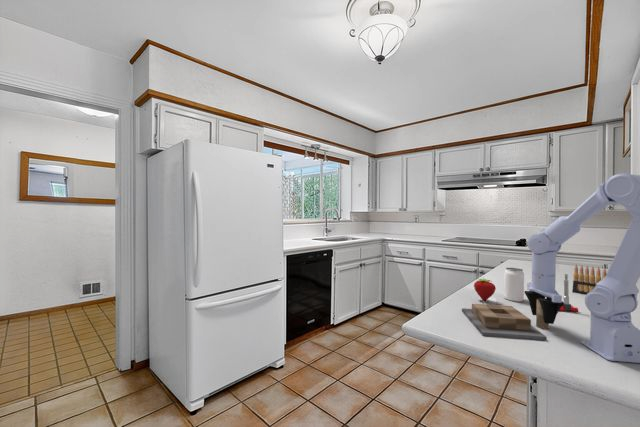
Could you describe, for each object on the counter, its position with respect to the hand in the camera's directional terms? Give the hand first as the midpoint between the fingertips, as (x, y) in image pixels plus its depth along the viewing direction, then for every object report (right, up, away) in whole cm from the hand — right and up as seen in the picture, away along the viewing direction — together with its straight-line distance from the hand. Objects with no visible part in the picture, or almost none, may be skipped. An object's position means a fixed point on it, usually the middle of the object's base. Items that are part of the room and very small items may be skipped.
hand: (542, 319), depth 89 cm
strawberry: (-4, -2, +25) cm, 25 cm away
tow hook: (+20, -3, +18) cm, 27 cm away
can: (+9, -2, +27) cm, 28 cm away
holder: (-12, -2, +2) cm, 12 cm away
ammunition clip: (+45, -2, +34) cm, 56 cm away
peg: (0, -2, 0) cm, 2 cm away
